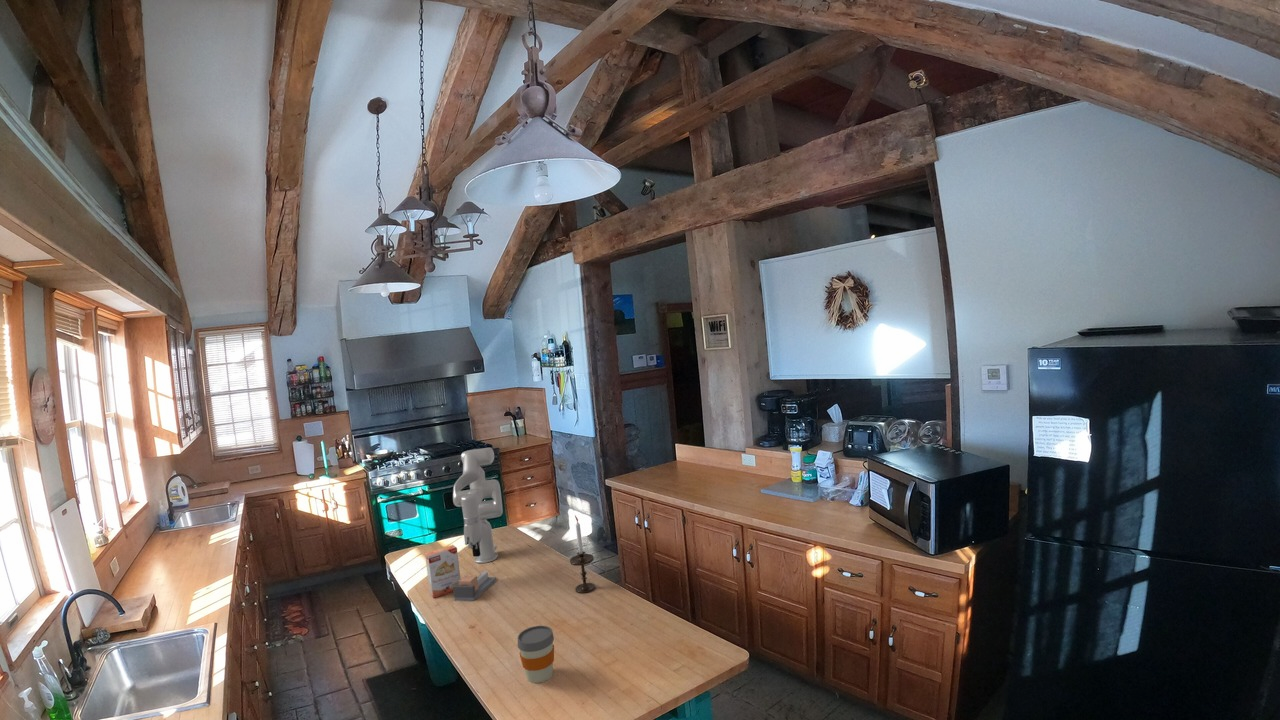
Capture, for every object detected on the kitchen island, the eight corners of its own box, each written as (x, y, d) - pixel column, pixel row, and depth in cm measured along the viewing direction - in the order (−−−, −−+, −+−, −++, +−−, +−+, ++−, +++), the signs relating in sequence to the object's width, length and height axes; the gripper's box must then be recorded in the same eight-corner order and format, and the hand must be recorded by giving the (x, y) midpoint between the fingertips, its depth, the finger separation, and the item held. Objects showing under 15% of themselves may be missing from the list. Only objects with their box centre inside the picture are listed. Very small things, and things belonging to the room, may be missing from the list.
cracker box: (433, 598, 288) (427, 555, 286) (429, 595, 293) (424, 552, 291) (462, 588, 296) (457, 546, 294) (458, 585, 301) (453, 543, 299)
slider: (466, 589, 290) (465, 575, 290) (478, 589, 289) (476, 575, 288) (460, 594, 284) (458, 581, 284) (472, 595, 283) (470, 581, 282)
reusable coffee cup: (559, 663, 220) (554, 623, 219) (556, 683, 208) (550, 641, 207) (524, 667, 220) (519, 627, 219) (519, 688, 207) (513, 646, 206)
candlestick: (570, 594, 276) (561, 519, 274) (578, 583, 287) (569, 511, 285) (592, 594, 274) (584, 518, 271) (600, 583, 284) (591, 510, 282)
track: (478, 579, 304) (477, 567, 304) (496, 579, 302) (495, 567, 301) (454, 600, 283) (452, 587, 283) (473, 600, 280) (472, 587, 280)
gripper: (472, 513, 302) (477, 549, 305) (456, 525, 288) (462, 562, 290) (486, 513, 301) (491, 549, 303) (471, 525, 286) (476, 562, 288)
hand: (476, 555), depth 296 cm, fingers closed
